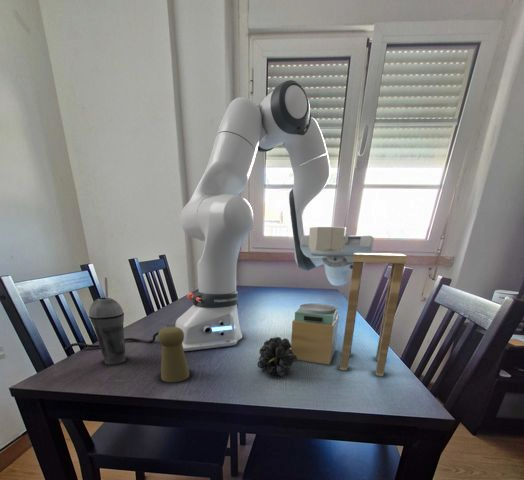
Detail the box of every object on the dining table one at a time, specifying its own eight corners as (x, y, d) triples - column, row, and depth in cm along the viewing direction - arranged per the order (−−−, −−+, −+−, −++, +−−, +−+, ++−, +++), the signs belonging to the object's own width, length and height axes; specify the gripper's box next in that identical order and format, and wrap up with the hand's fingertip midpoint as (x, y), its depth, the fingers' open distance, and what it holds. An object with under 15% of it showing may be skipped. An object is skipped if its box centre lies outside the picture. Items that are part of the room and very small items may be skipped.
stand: (384, 376, 63) (407, 255, 54) (338, 369, 67) (353, 254, 57) (383, 358, 74) (402, 253, 64) (343, 353, 77) (356, 252, 68)
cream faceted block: (341, 252, 61) (343, 226, 60) (306, 251, 64) (307, 227, 62) (348, 250, 78) (350, 230, 76) (320, 249, 80) (321, 230, 79)
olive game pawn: (155, 379, 60) (148, 330, 56) (171, 368, 66) (166, 323, 62) (179, 384, 59) (174, 333, 55) (194, 372, 64) (190, 325, 60)
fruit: (268, 321, 71) (265, 339, 57) (299, 332, 72) (303, 353, 58) (257, 351, 74) (251, 375, 60) (286, 362, 75) (287, 388, 61)
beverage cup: (94, 360, 69) (76, 277, 62) (124, 353, 74) (110, 275, 67) (105, 369, 65) (87, 280, 57) (136, 360, 70) (123, 278, 62)
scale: (329, 364, 69) (335, 313, 65) (290, 358, 73) (293, 309, 68) (334, 351, 78) (340, 304, 73) (299, 346, 81) (302, 301, 77)
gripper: (305, 246, 91) (297, 220, 78) (372, 247, 84) (376, 219, 71) (302, 264, 90) (293, 241, 77) (369, 267, 84) (372, 242, 71)
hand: (334, 231), depth 74 cm, fingers closed on cream faceted block
